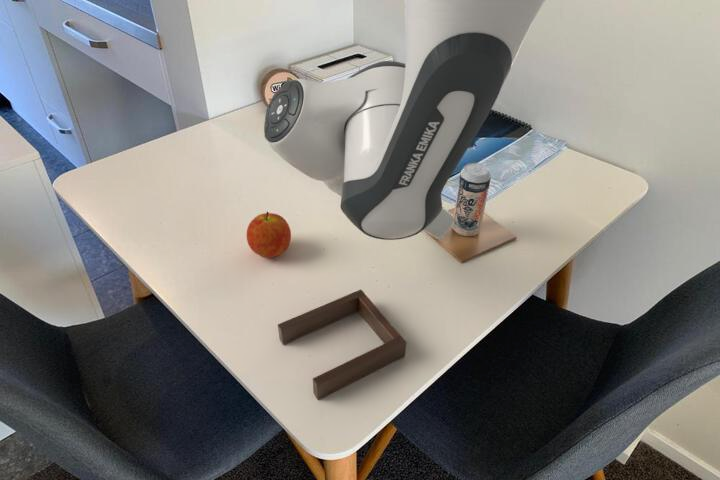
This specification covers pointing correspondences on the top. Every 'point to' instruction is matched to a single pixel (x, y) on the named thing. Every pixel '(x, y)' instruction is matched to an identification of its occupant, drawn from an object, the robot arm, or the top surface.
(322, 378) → the can rack
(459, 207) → the beer can
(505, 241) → the cork mat
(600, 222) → the top surface
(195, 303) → the top surface
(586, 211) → the top surface
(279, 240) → the fruit
